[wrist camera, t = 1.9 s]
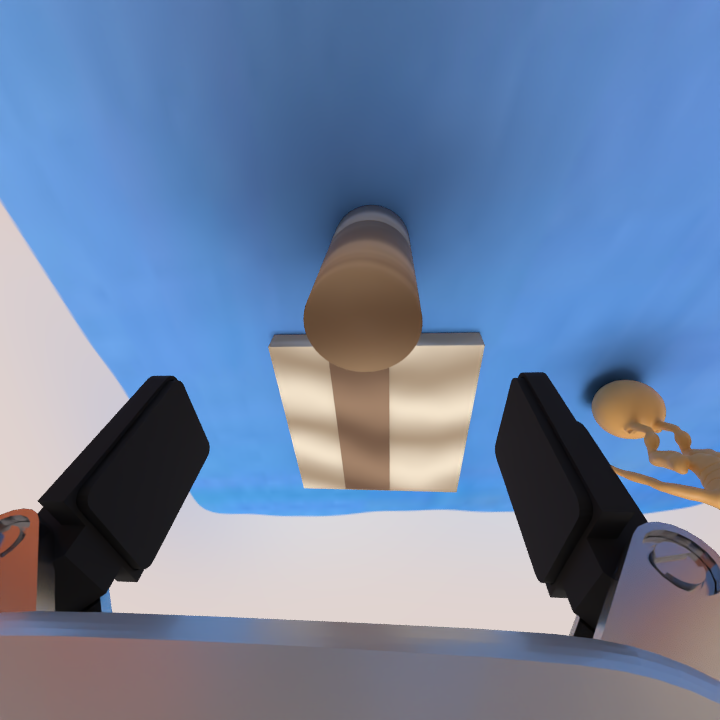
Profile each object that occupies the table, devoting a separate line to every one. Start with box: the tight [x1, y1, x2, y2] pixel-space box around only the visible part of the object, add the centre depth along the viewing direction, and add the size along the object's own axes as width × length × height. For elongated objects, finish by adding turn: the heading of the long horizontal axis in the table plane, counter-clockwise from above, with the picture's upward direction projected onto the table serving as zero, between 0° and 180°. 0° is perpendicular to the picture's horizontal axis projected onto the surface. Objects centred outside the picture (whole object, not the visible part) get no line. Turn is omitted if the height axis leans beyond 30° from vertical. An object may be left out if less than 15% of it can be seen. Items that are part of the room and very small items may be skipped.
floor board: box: [268, 333, 485, 492], centre depth 28 cm, size 16×14×2 cm
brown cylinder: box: [304, 205, 422, 372], centre depth 16 cm, size 4×4×9 cm
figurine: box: [592, 380, 720, 510], centre depth 20 cm, size 8×6×12 cm
